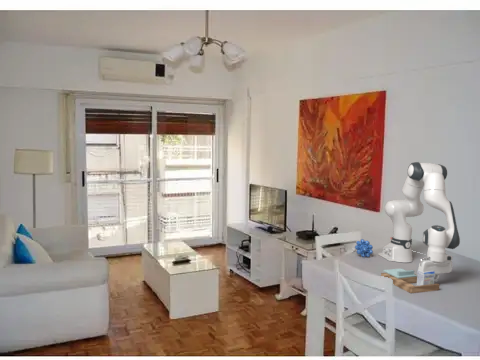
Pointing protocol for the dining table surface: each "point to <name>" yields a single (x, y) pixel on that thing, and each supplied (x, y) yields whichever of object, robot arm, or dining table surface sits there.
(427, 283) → the medicine box
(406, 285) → the puzzle board
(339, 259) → the dining table surface
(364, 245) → the grapes
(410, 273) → the lid
